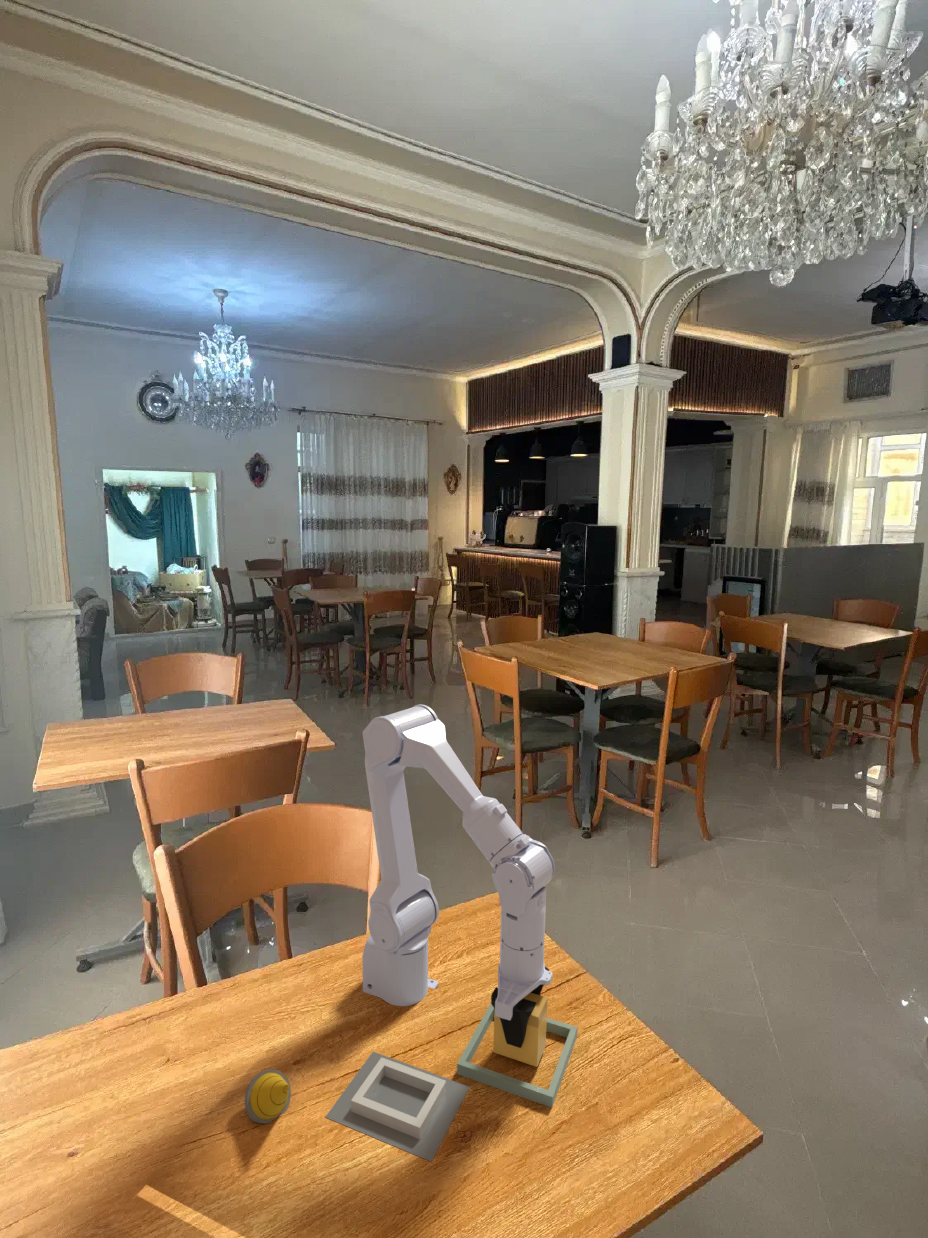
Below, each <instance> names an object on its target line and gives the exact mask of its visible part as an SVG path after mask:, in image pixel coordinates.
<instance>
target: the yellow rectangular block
mask: <svg viewBox="0 0 928 1238" xmlns="http://www.w3.org/2000/svg"><path fill="white" fill-rule="evenodd" d="M524 999H527V1000H530V1001H533V1002H537V1003H536V1005H535V1008H534V1010H533V1012H532V1013H531V1015H530V1017H529V1020H528V1023H527V1029H526V1034H525V1039H524V1042H523V1045H522V1047H521V1048H518V1047H515V1046H512V1045H509V1044H507V1043H506V1040H505V1036H504V1031H503V1027H502V1024H501V1020H500V1018H499V1017H497V1016H495V1009H494V1018H493V1050H492V1051H493V1053H495V1054H498V1055H501V1056H503V1057H506V1058H509V1059H512V1060H515V1061H518V1062H522V1063H524V1064H527V1065H530V1066H533V1067H536V1068H538V1066H539V1063H540V1061H541V1058H542V1056H543V1053H544V1051H545V1049H546V1047H547V1031H546V1028H547V1018H548V997H547V996H544V995H541V994H540V995H537V994H534V993H529V994H528V995H526V996H525V997H524Z"/></svg>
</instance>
